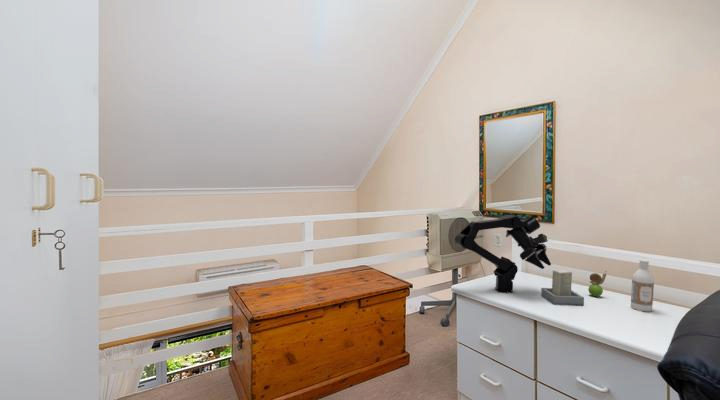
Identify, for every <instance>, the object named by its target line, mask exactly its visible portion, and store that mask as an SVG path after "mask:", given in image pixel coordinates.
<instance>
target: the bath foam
mask: <svg viewBox="0 0 720 400" xmlns="http://www.w3.org/2000/svg"><path fill="white" fill-rule="evenodd" d="M649 263H650V261H649V260H646V259H639V263H638V264H639V265H638V269H637V270H635V272H634V273H633V275H632V279H631V295H630V307H631V308H632V309H633V310H636V311H640V312H648V313H649V312H652V311H653V303H654V288H655V279H654V277H653V275H652V273H651V272H650V270H649Z"/></svg>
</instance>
